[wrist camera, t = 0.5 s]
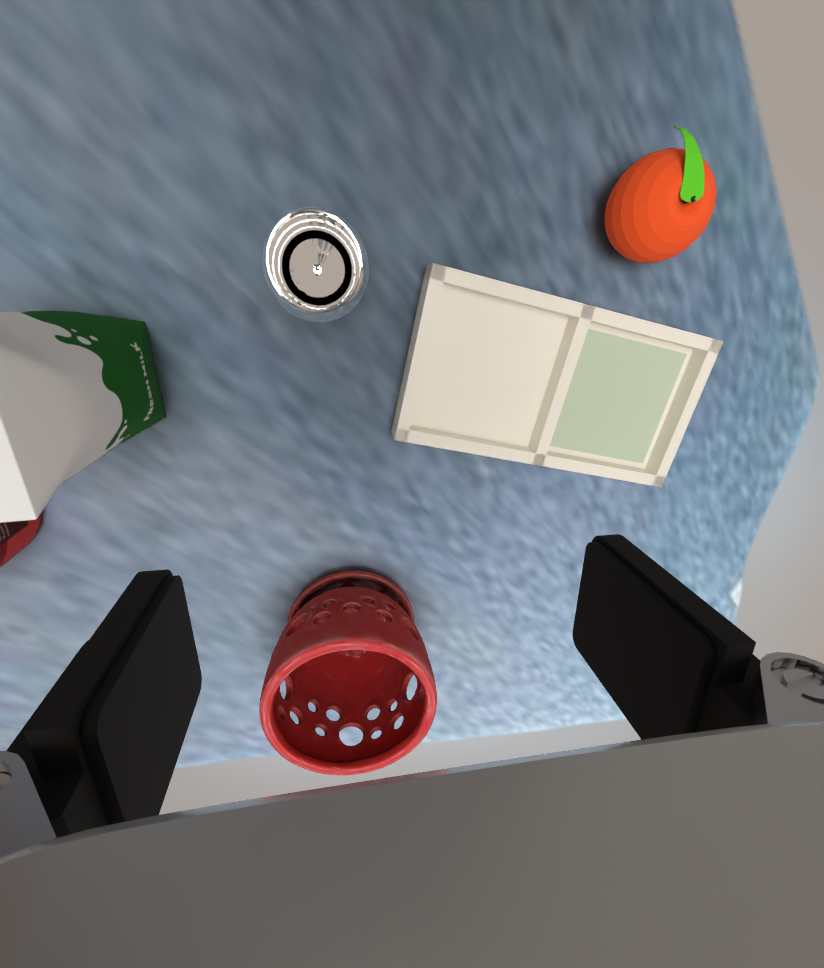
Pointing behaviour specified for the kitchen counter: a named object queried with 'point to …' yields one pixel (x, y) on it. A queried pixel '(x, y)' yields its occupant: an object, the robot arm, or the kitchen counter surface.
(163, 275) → the kitchen counter surface
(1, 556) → the canned food
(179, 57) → the kitchen counter surface
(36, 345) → the milk carton
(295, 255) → the wineglass
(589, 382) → the two-compartment tray
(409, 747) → the plant pot
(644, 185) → the clementine
